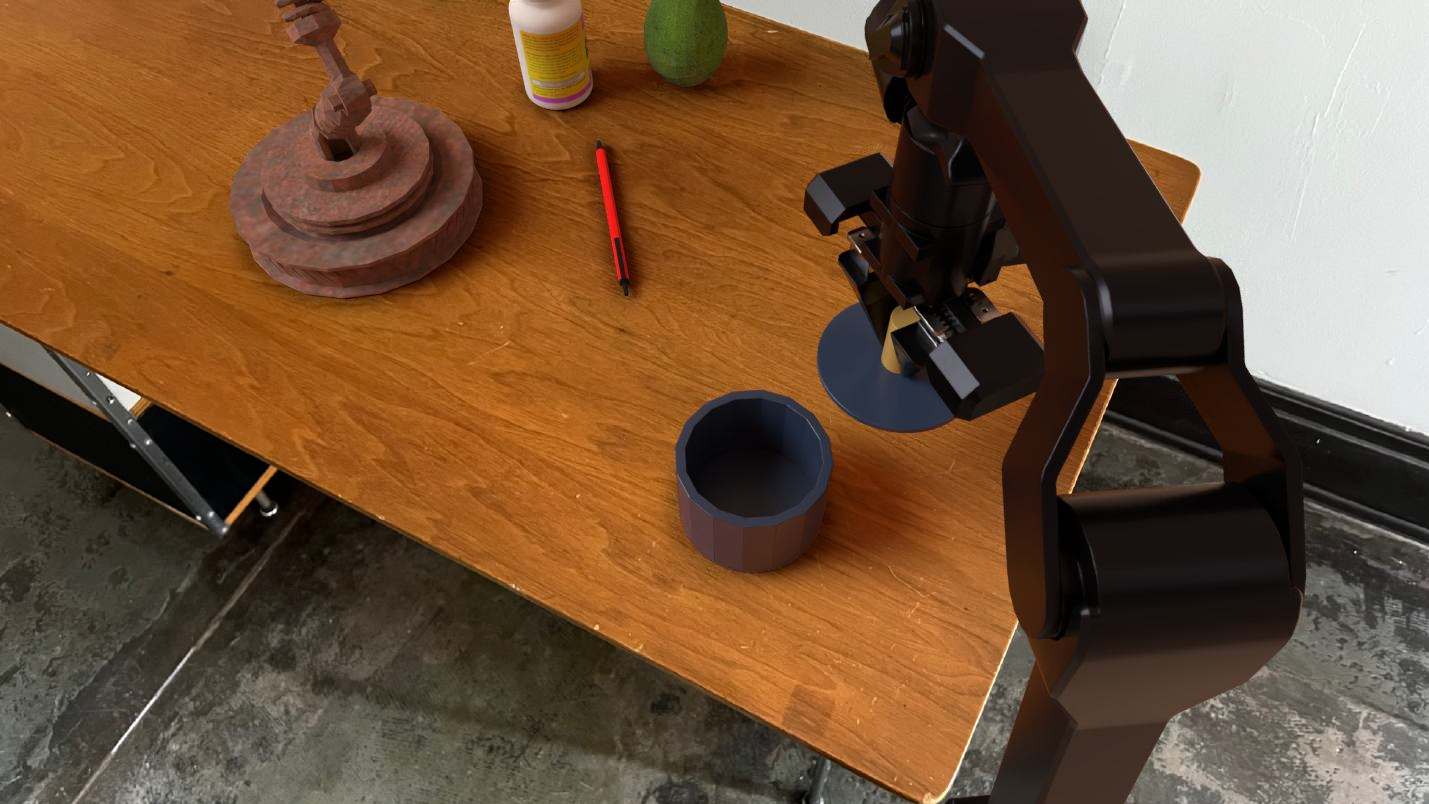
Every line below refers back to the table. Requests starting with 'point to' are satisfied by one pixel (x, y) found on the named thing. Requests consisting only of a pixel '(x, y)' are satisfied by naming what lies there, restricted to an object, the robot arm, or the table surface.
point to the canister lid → (876, 376)
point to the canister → (752, 479)
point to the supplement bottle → (552, 51)
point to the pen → (612, 218)
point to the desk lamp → (354, 182)
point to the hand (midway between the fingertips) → (899, 358)
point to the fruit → (685, 39)
